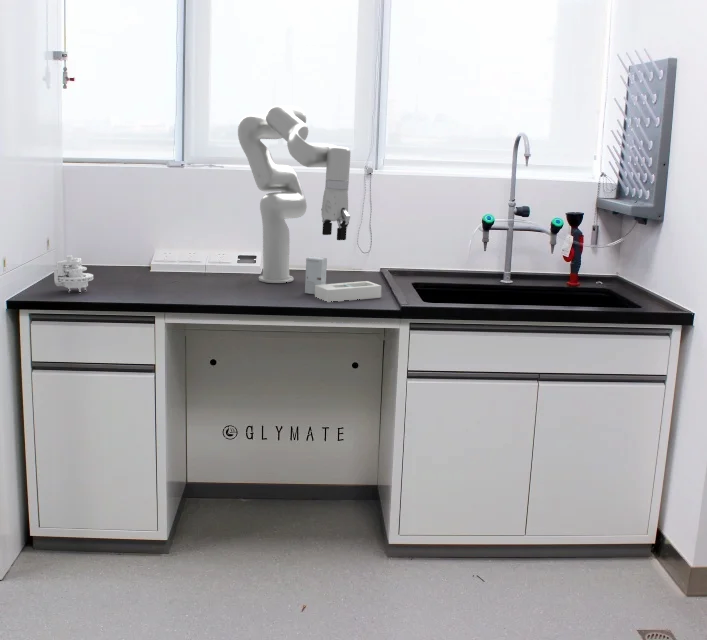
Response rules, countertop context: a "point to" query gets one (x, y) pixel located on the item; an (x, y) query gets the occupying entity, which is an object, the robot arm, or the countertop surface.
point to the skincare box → (315, 273)
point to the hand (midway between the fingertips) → (333, 237)
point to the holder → (348, 291)
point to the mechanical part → (71, 274)
